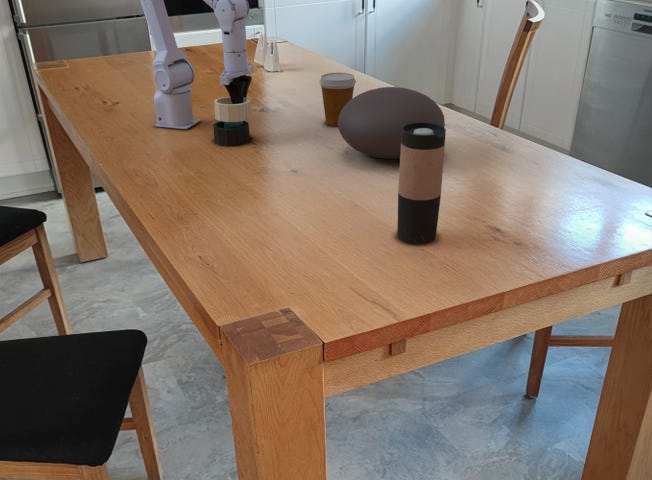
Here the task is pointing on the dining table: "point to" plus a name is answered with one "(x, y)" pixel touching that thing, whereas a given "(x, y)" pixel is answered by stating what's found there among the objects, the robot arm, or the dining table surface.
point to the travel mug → (420, 181)
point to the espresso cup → (233, 125)
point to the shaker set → (267, 54)
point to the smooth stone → (385, 119)
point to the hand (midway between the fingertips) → (239, 107)
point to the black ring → (231, 134)
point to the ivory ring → (232, 110)
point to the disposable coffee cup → (336, 94)
